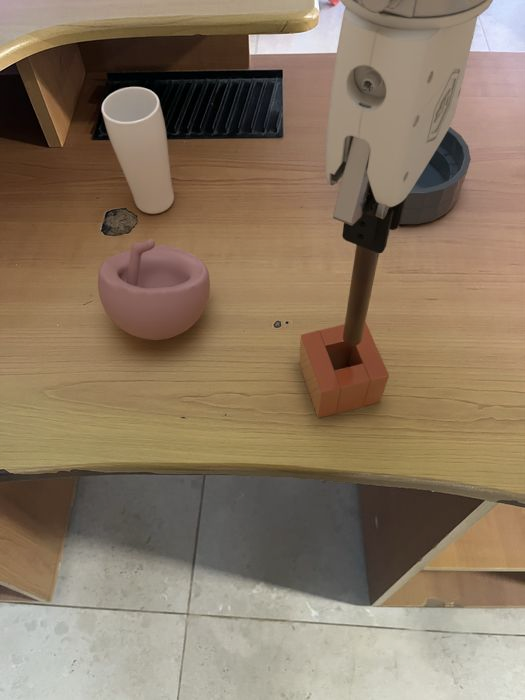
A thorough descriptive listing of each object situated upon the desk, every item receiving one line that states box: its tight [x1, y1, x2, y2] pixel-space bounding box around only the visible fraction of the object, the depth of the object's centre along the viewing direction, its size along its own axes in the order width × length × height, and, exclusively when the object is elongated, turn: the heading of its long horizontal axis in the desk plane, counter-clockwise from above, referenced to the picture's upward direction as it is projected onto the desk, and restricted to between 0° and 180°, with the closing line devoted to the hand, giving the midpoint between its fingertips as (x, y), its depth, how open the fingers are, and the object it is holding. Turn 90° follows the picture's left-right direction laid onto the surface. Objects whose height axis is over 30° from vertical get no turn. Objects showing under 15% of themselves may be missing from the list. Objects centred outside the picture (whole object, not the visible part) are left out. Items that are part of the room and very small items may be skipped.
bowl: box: [400, 126, 472, 225], centre depth 75 cm, size 15×15×6 cm
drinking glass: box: [101, 86, 175, 215], centre depth 71 cm, size 7×7×15 cm
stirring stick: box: [343, 185, 380, 346], centre depth 46 cm, size 2×2×20 cm
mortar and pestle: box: [97, 238, 211, 341], centre depth 63 cm, size 12×12×12 cm
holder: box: [298, 321, 390, 419], centre depth 60 cm, size 7×7×6 cm
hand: (371, 231), depth 42 cm, fingers closed on stirring stick, 1 cm apart
